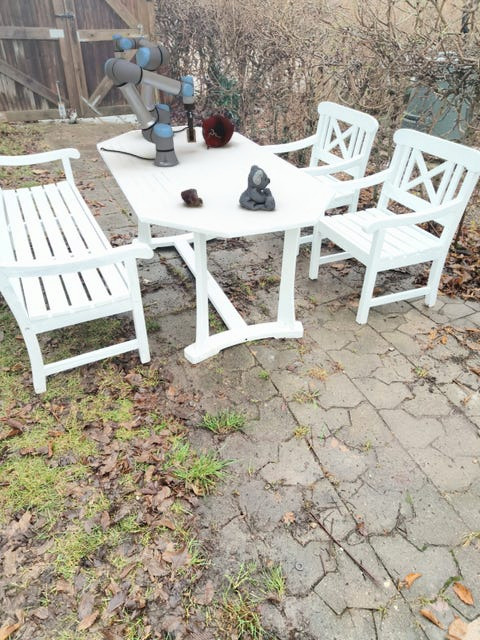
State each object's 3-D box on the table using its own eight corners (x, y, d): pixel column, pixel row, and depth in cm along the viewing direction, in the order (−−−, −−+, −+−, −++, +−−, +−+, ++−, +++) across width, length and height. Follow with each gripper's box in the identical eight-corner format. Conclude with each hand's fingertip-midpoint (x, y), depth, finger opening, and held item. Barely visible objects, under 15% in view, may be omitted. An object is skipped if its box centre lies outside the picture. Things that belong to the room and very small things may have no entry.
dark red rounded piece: (199, 121, 337) (198, 117, 314) (230, 114, 337) (230, 110, 313) (206, 150, 344) (205, 149, 321) (236, 143, 343) (237, 142, 320)
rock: (196, 202, 238) (178, 205, 233) (194, 185, 234) (176, 188, 230) (205, 205, 228) (187, 208, 224) (203, 188, 224) (185, 191, 220)
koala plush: (276, 211, 223) (277, 171, 212) (240, 212, 222) (240, 172, 211) (271, 199, 237) (272, 161, 226) (237, 200, 236) (237, 162, 225)
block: (187, 142, 311) (187, 130, 306) (187, 141, 315) (186, 128, 310) (196, 142, 312) (195, 129, 307) (195, 140, 316) (194, 128, 311)
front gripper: (196, 104, 292) (198, 142, 306) (192, 100, 307) (195, 136, 320) (184, 105, 291) (187, 142, 304) (181, 101, 306) (184, 137, 319)
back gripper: (124, 59, 338) (128, 90, 350) (125, 56, 358) (129, 86, 370) (114, 59, 336) (119, 91, 349) (115, 57, 357) (120, 86, 369)
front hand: (191, 139), depth 312 cm, fingers closed on block, 5 cm apart
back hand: (124, 88), depth 359 cm, fingers open, 13 cm apart
